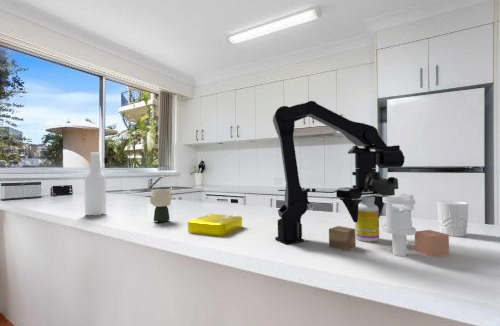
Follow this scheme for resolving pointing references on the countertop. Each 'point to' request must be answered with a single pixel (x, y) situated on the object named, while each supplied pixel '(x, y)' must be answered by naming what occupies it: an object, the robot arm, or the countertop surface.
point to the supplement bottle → (367, 220)
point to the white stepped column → (399, 221)
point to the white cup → (453, 217)
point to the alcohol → (95, 187)
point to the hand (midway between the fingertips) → (366, 220)
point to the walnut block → (342, 238)
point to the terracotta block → (432, 243)
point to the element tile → (215, 224)
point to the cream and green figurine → (161, 204)
